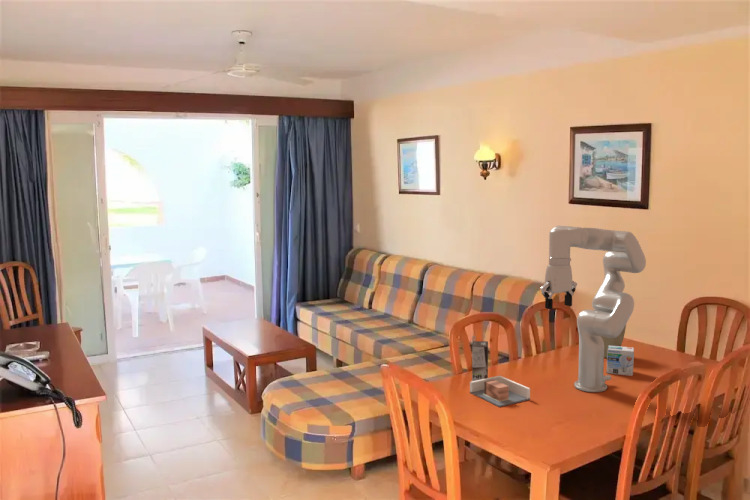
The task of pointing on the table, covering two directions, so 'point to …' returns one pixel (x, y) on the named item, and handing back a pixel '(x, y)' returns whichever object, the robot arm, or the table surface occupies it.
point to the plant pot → (613, 341)
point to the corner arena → (515, 389)
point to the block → (496, 390)
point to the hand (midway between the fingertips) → (558, 307)
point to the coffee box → (479, 360)
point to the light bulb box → (620, 360)
